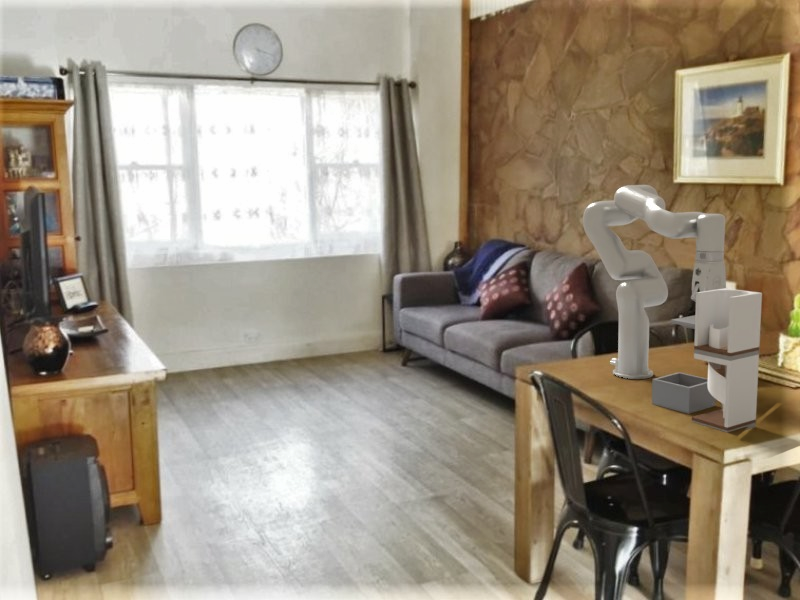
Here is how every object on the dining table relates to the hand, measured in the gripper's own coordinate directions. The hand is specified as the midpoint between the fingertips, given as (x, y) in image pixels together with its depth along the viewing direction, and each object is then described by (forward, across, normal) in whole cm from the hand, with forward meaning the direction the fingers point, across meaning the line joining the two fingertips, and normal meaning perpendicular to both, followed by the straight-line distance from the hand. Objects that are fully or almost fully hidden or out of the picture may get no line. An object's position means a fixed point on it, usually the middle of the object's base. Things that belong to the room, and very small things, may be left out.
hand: (706, 318), depth 223 cm
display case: (+23, -20, -21) cm, 37 cm away
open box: (+23, -15, -4) cm, 28 cm away
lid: (+2, 0, 0) cm, 2 cm away
